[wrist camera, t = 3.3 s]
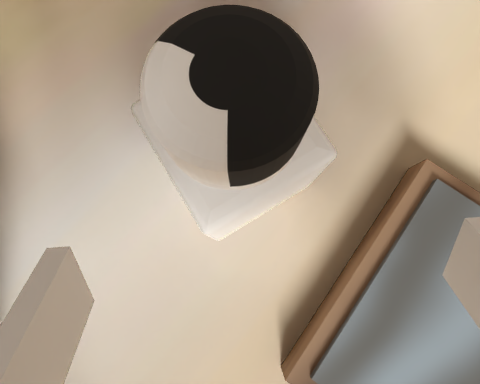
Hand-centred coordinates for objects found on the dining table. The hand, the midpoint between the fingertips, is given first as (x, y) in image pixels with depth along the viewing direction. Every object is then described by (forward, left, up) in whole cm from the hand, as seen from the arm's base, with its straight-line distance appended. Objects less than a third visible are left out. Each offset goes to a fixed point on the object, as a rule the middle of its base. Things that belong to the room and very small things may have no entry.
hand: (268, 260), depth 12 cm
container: (-5, +4, -12) cm, 13 cm away
